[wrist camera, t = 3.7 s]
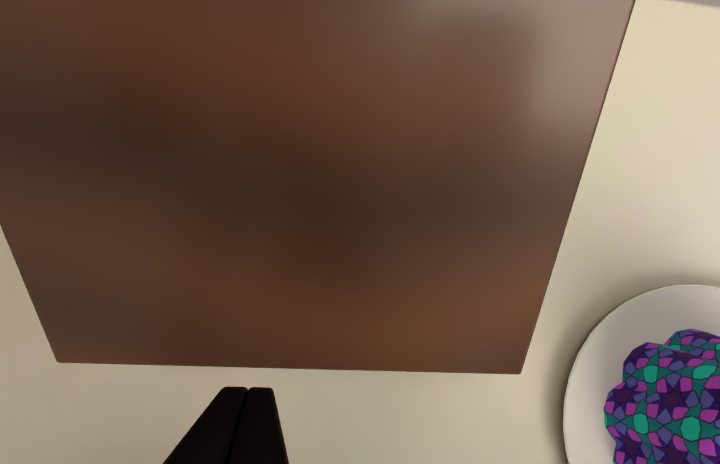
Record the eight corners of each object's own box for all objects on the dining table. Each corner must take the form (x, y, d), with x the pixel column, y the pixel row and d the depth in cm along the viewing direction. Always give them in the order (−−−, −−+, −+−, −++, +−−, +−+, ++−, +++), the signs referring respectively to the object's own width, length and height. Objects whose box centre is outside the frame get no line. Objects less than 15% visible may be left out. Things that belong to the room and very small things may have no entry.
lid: (-143, -210, 9) (-185, -217, 8) (667, -171, 9) (692, -175, 8) (68, 343, 16) (56, 364, 15) (514, 355, 16) (521, 375, 16)
